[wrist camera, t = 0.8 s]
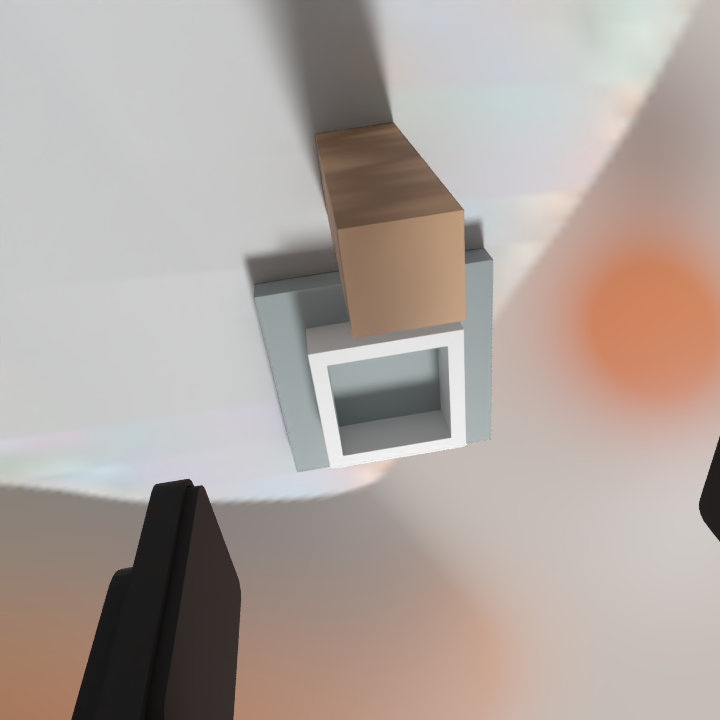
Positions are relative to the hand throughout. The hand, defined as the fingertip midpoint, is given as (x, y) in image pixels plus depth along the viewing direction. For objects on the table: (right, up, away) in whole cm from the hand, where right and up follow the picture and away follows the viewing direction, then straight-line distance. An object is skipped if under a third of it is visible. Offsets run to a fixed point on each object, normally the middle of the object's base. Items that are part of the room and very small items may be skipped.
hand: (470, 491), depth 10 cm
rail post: (-2, +11, +17) cm, 20 cm away
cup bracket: (-1, +2, +23) cm, 23 cm away
